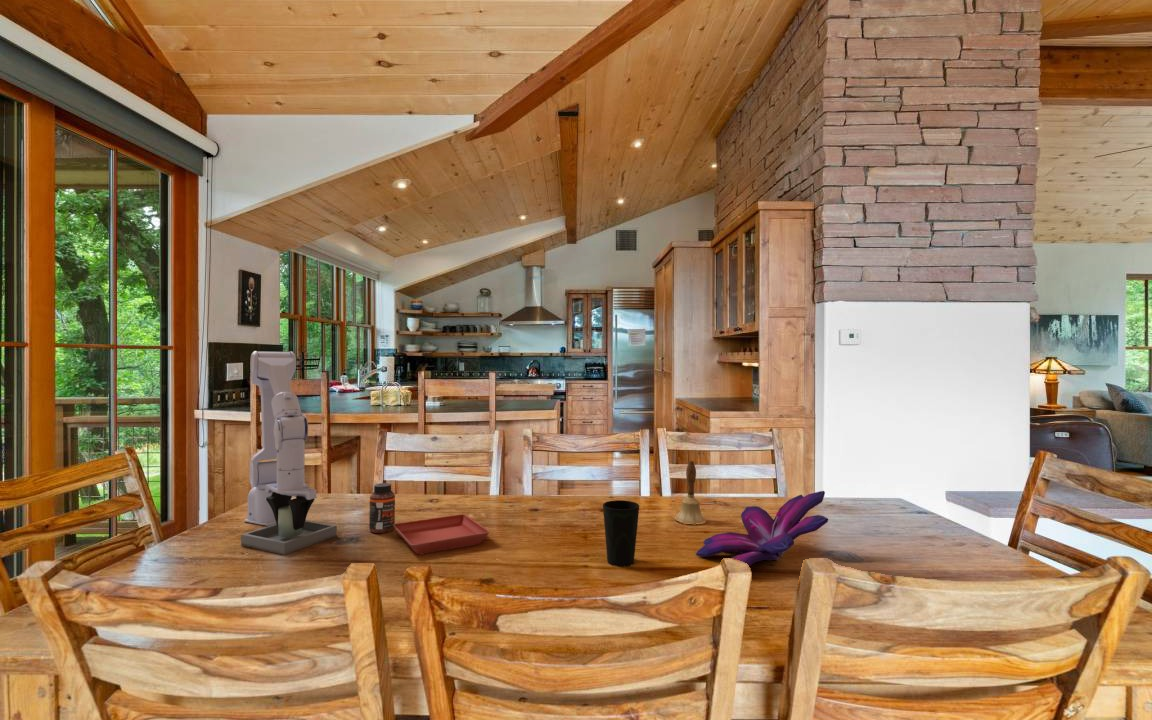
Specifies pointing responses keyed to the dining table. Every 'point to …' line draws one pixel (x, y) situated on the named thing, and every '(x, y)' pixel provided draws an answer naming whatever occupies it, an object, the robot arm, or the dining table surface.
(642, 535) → the dining table surface
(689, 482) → the hand bell
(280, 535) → the green cylinder
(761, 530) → the decorative flower
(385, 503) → the supplement bottle
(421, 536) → the plant saucer
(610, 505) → the cup
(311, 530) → the tray
